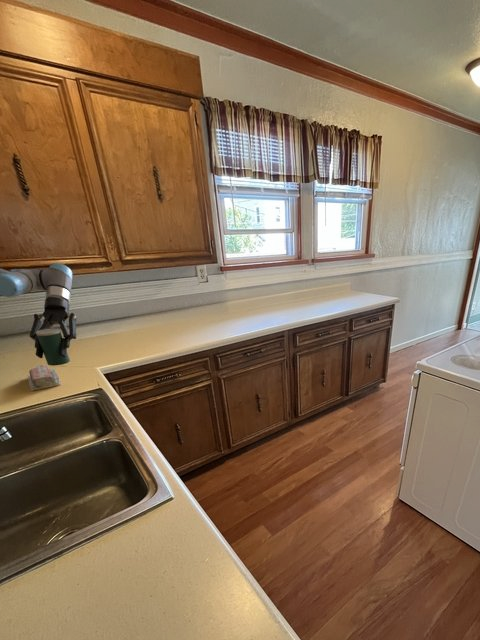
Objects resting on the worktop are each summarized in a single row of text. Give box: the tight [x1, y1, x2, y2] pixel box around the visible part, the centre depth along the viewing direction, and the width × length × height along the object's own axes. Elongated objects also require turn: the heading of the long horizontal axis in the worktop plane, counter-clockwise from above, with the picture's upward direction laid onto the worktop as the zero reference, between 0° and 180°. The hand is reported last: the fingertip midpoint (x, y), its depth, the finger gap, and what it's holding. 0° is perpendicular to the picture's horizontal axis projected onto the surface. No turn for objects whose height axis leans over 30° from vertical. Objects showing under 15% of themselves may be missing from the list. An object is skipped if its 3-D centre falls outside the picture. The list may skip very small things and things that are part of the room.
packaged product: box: [26, 364, 61, 392], centre depth 134 cm, size 18×5×10 cm
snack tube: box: [36, 327, 71, 367], centre depth 119 cm, size 7×7×12 cm
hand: (51, 356), depth 117 cm, fingers closed on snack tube, 7 cm apart
